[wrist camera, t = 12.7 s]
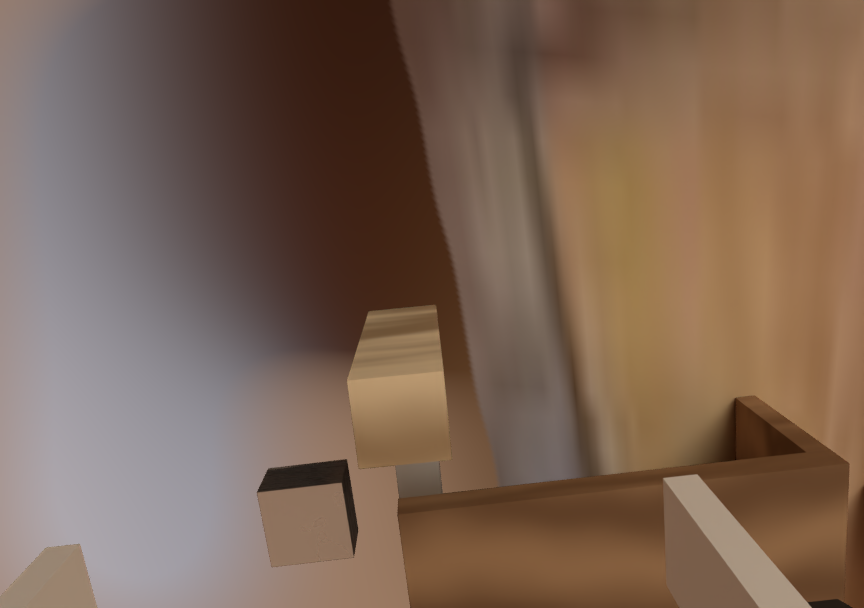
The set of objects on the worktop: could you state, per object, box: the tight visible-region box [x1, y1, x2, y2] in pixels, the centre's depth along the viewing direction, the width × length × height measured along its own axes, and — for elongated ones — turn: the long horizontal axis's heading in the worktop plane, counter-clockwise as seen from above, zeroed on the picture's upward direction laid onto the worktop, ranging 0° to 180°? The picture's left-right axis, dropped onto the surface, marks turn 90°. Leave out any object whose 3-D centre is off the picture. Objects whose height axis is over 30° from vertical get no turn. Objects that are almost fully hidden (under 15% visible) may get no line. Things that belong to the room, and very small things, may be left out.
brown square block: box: [257, 459, 358, 567], centre depth 40 cm, size 5×5×3 cm
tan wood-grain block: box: [347, 305, 452, 498], centre depth 34 cm, size 17×4×12 cm, turn 6°
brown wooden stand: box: [398, 396, 849, 608], centre depth 37 cm, size 14×22×9 cm, turn 96°
